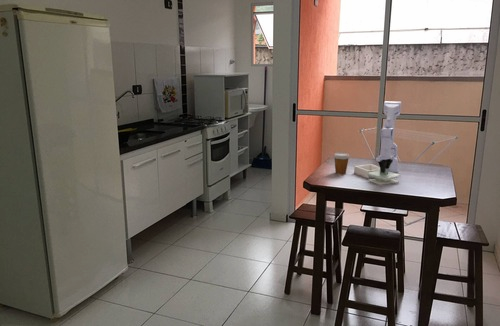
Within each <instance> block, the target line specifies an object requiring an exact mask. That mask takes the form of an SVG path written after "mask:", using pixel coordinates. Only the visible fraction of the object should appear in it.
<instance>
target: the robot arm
mask: <svg viewBox="0 0 500 326" xmlns="http://www.w3.org/2000/svg"><path fill="white" fill-rule="evenodd" d="M382 110H383V113H384V115H385V116H386V118H385V119H384V121H383V126H382V128H381V130H380V155H378V156H377V157H376V158H375V161H376V162H377V163H378V167H380V171H381V172H382V173H384V172H385V168H389V172H392V173H399V160H398V158H397V157H398V150H399V149H398V148H399V147H398V145H397V144H396V143H395V142H394V139H395V129H396V119H397V117H398V116H400V115H401V110H402V101H386V100H385V101H384V102H383V109H382Z"/></svg>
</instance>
